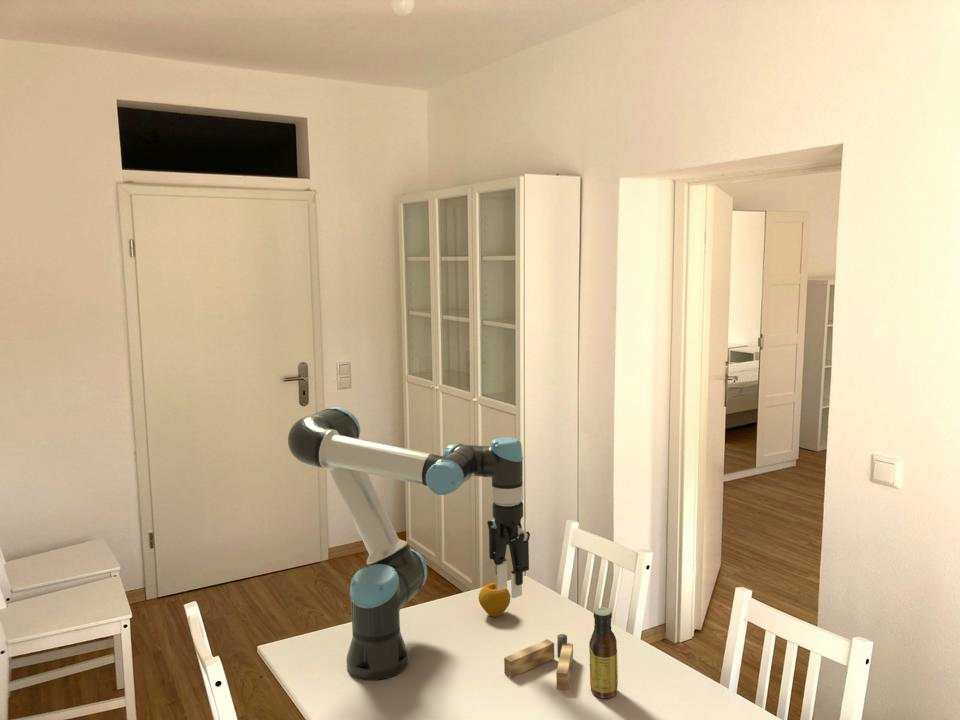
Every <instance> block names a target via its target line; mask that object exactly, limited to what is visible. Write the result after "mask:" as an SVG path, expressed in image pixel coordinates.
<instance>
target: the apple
mask: <svg viewBox="0 0 960 720" xmlns="http://www.w3.org/2000/svg"><path fill="white" fill-rule="evenodd" d="M509 591H510V590H509V589H508V587H507V588H506V589H503V590H500V591H498V590H497V582H490V583H488V584H485V585H484V586H483V587H482V588H481V589H480V591H479V593H478V601H479V604H480V606H481V608H482V609H483V610H484V612H485V613H486V614H488V616H489V617H490V616H491V617H493V618H494V617H495V618H498V617H501V616H502V615H503V614H504V613H505V611H506V610H507V609H508V608H509V605H510V603H511V595H510V593H511V592H509Z"/></svg>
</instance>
